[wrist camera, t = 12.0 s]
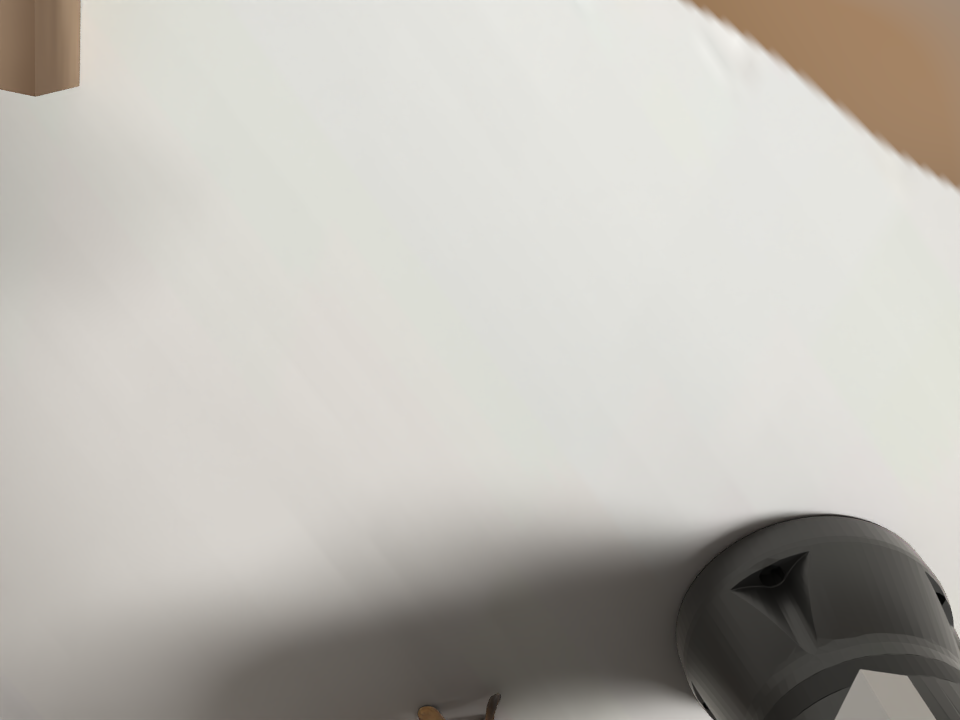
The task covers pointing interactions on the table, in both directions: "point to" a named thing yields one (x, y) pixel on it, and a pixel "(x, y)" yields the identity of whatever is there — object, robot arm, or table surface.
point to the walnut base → (39, 45)
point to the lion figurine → (431, 716)
